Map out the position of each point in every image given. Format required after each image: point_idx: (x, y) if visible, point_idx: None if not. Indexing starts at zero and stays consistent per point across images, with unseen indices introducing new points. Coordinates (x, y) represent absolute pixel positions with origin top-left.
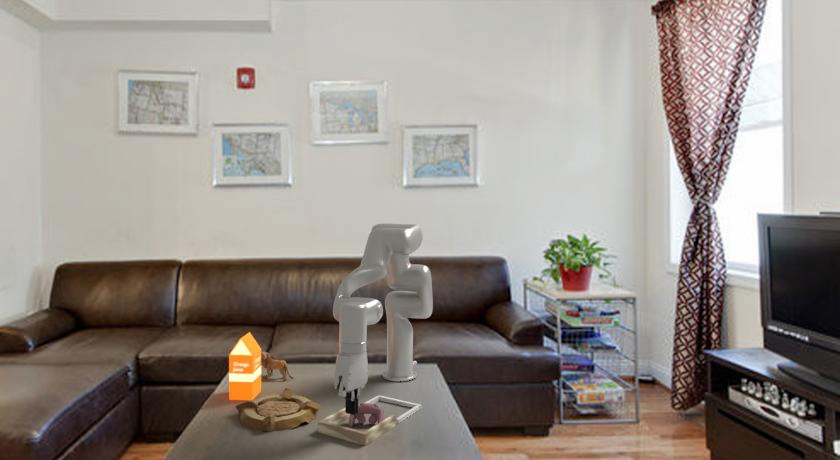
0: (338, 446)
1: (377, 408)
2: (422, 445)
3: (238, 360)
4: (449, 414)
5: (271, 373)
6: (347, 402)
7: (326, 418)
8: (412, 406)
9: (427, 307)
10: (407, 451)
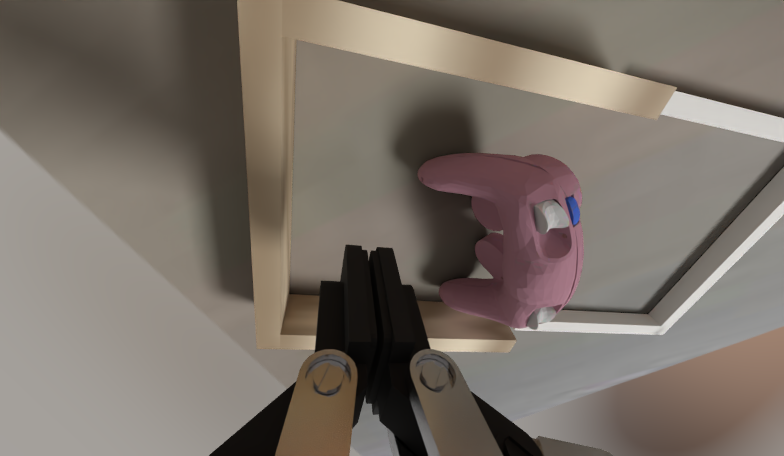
0: (185, 220)
1: (519, 321)
2: (365, 409)
3: None
4: (592, 386)
5: None
6: (315, 350)
7: (347, 23)
8: (666, 304)
9: None
10: None
